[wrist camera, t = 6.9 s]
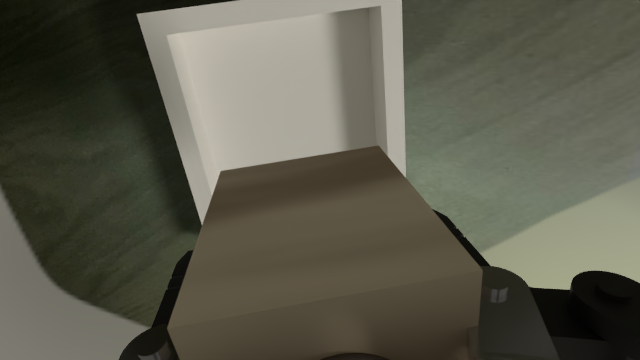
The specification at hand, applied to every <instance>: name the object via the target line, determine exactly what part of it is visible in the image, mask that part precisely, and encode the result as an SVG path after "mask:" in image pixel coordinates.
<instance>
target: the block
mask: <svg viewBox="0 0 640 360" xmlns="http://www.w3.org/2000/svg"><path fill="white" fill-rule="evenodd" d="M482 274H483V270H482V269H481V267H480V266H479V265H478V264H477V263H476V261H475V260H474V259H473V258H472V257H471V255H470V254H469V253H468V252H467V251H466V249H465V248H464V247H463V246H462V245H461V243H460V242H459V241H458V240H457V239H456V237H455V236H454V235H453V234H452V233H451V231H450V230H449V229H448V228H447V227H446V225H445V224H444V223H443V222H442V221H441V220H440V218H439V217H438V216H437V215H436V214H435V212H434V211H433V210H432V209H431V208H430V206H429V205H428V204H427V203H426V202H425V200H424V199H423V198H422V197H421V196H420V194H419V193H418V192H417V191H416V190H415V188H414V187H413V186H412V185H411V184H410V182H409V181H408V180H407V179H406V178H405V176H404V175H403V174H402V173H401V172H400V170H399V169H398V168H397V167H396V166H395V164H394V163H393V162H392V161H391V160H390V158H389V157H388V156H387V155H386V154H385V152H384V151H383V150H382V149H381V148H380V146H379V145H378V146H372V147H366V148H360V149H354V150H347V151H341V152H335V153H329V154H323V155H316V156H310V157H304V158H298V159H292V160H286V161H279V162H273V163H267V164H261V165H255V166H248V167H242V168H236V169H230V170H224V171H221V172H220V175H219V178H218V180H217V183H216V186H215V189H214V192H213V195H212V198H211V201H210V204H209V207H208V210H207V213H206V216H205V219H204V221H203V224H202V227H201V230H200V233H199V236H198V239H197V242H196V245H195V248H194V251H193V254H192V257H191V260H190V262H189V265H188V268H187V271H186V274H185V277H184V280H183V283H182V286H181V289H180V292H179V295H178V298H177V300H176V303H175V306H174V309H173V312H172V315H171V318H170V321H169V324H168V327H167V330H168V332H169V335H170V337H171V339H172V342H173V344H174V347H175V349H176V351H177V354H178V356H179V359H180V360H469V359H468V353H467V347H466V346H467V331H468V328H469V327H474V326H478V324H479V311H480V299H481V286H482Z"/></svg>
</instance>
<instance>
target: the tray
mask: <svg viewBox="0 0 640 360" xmlns="http://www.w3.org/2000/svg"><path fill="white" fill-rule="evenodd" d="M137 17H138V20H139V24H140V27H141V30H142V33H143V37H144V40H145V43H146V46H147V49H148V53H149V56H150V59H151V62H152V66H153V69H154V72H155V75H156V79H157V82H158V85H159V88H160V91H161V95H162V98H163V101H164V104H165V108H166V111H167V114H168V117H169V120H170V124H171V127H172V130H173V133H174V137H175V140H176V143H177V146H178V149H179V153H180V156H181V159H182V162H183V166H184V169H185V172H186V175H187V179H188V182H189V185H190V188H191V191H192V195H193V198H194V201H195V204H196V208H197V211H198V214H199V217H200V220H201V224H203V221H204V219H205V216H206V213H207V210H208V207H209V204H210V201H211V198H212V195H213V192H214V189H215V186H216V183H217V180H218V178H219V175H220V172H221V171H224V170H230V169H236V168H242V167H248V166H255V165H261V164H267V163H273V162H279V161H286V160H292V159H298V158H304V157H310V156H316V155H323V154H329V153H335V152H341V151H347V150H354V149H360V148H366V147H372V146H378V145H379V146H380V148H381V149H382V150H383V151H384V152H385V154H386V155H387V156H388V157H389V158H390V160H391V161H392V162H393V163H394V164H395V166H396V167H397V168H398V169H399V170H400V172H401V173H402V174H403V175H404V176H405V178H406V163H405V121H404V78H403V36H402V0H238V1H230V2H223V3H215V4H208V5H200V6H193V7H185V8H178V9H170V10H163V11H155V12H148V13H140V14H137Z"/></svg>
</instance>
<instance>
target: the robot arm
mask: <svg viewBox="0 0 640 360" xmlns="http://www.w3.org/2000/svg"><path fill="white" fill-rule="evenodd" d="M432 210H433V209H432ZM433 211H434V212H435V214H436V215H437V216H438V217H439V218H440V220H441V221H442V222H443V223H444V224H445V225H446V227H447V228H448V229H449V230H450V231H451V233H452V234H453V235H454V236H455V237H456V239H457V240H458V241H459V242H460V243H461V245H462V246H463V247H464V248H465V249H466V251H467V252H468V253H469V254H470V255H471V257H472V258H473V259H474V260H475V261H476V263H477V264H478V265H479V266H480V267H481V269H482V270H483V274H482V286H481V299H480V311H479V324H478V326H474V327H469V328H468V331H467V346H466V347H467V353H468V359H469V360H640V283H638V282H636V281H634V280H632V279H630V278H627V277H625V276H622V275H619V274H615V273H610V272H605V271H587V272H583V273H580V274H578V275H576V276H575V277H574V278H573V280H572V283H571V288H570V290H560V289H543V288H532V287H528V285H527V284H526V282H525V281H524V280H523V279H522V278H521V277H519V276H518V275H516V274H514V273H512V272H510V271H508V270H506V269H502V268H499V267H493V266H490V265H489V264H488V263H487V261H486V260H485V259H484V258H483V257H482V256H481V255H480V253H479V252H478V251H477V250H476V249H475V248H474V247H473V245H472V244H471V243H470V242H469V241H468V240H467V239H466V237H464V236H463V234H462V233H461V232H460V231H459V230H458V229H456V226H455V225H454V224H453V223H452V222H451V220H450V219H449V218H448V217H447V216H445V215H443V214H441V213H439V212H437V211H435V210H433ZM193 251H194V250H191V251H188V252H187V253H186V254H185V255H184V256H183V257H182V258H181V259H180V260H179V261H178V262H177V264H176V266H175V269H174V272H173V274H172V279H170V282H169V284H168V290H166V292H165V294H164V297H163V300H162V302H161V305H160V307H159V310H158V312H157V315H156V317H155V320H154V322H153V325H152V328H150V329H148V330H146V331H145V332H143V333H141V334H140V335H138V336H137V337H136V338H135V339H133V340H132V341H131V342H130V343H129V344H128V345H127V346H126V348H125V349H124V350H123V352H122V354H121V356H120V358H119V360H180V359H179V356H178V354H177V351H176V349H175V347H174V344H173V342H172V339H171V337H170V335H169V332H168V330H167V327H168V324H169V321H170V318H171V315H172V312H173V309H174V306H175V303H176V300H177V298H178V295H179V292H180V289H181V286H182V283H183V280H184V277H185V274H186V271H187V268H188V265H189V262H190V260H191V257H192V254H193Z"/></svg>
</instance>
